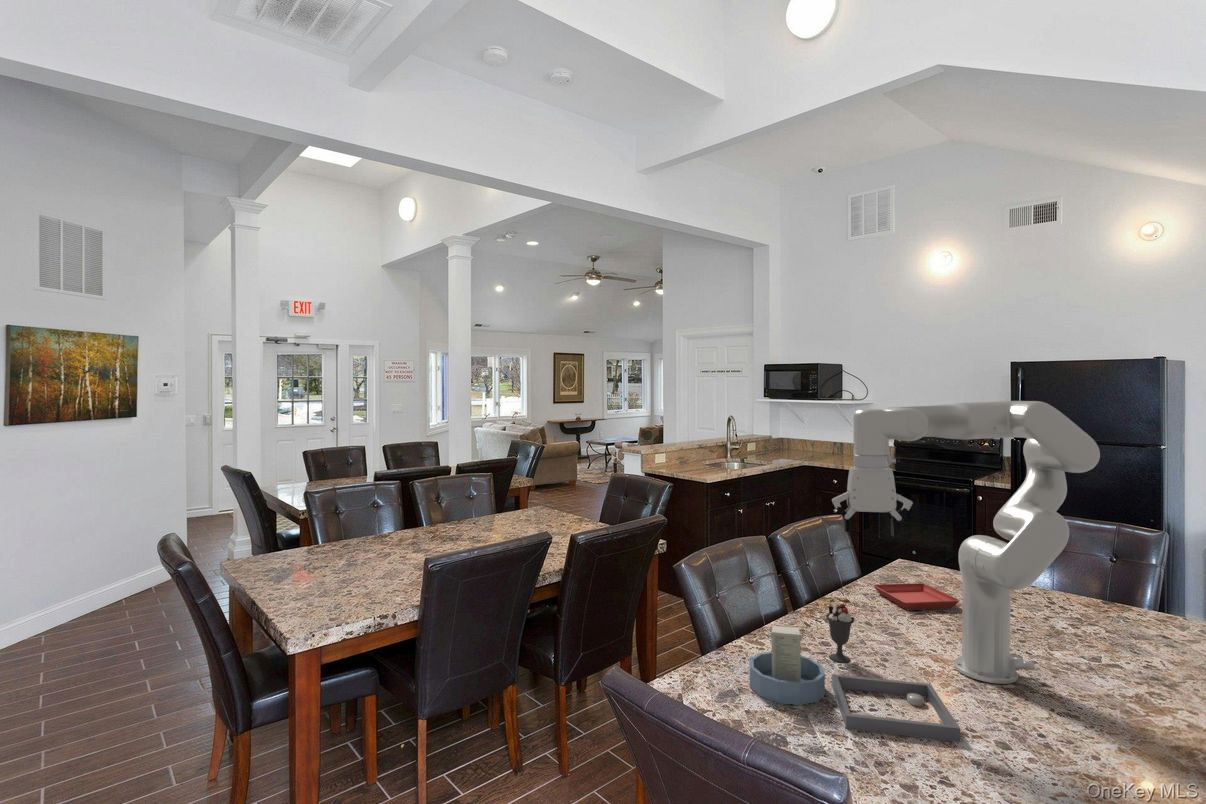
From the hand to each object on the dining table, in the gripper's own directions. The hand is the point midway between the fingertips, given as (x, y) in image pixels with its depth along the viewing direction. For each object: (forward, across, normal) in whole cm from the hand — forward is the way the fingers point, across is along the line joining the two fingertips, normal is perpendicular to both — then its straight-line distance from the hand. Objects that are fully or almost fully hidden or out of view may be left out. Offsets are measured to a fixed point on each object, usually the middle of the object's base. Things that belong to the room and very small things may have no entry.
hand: (871, 535), depth 141 cm
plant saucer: (+33, -24, -56) cm, 69 cm away
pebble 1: (+32, +6, +23) cm, 40 cm away
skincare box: (+31, +20, +12) cm, 39 cm away
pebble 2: (+32, -6, +13) cm, 35 cm away
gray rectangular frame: (+32, 0, +18) cm, 36 cm away
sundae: (+32, +6, -6) cm, 33 cm away
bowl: (+31, +20, +12) cm, 39 cm away
